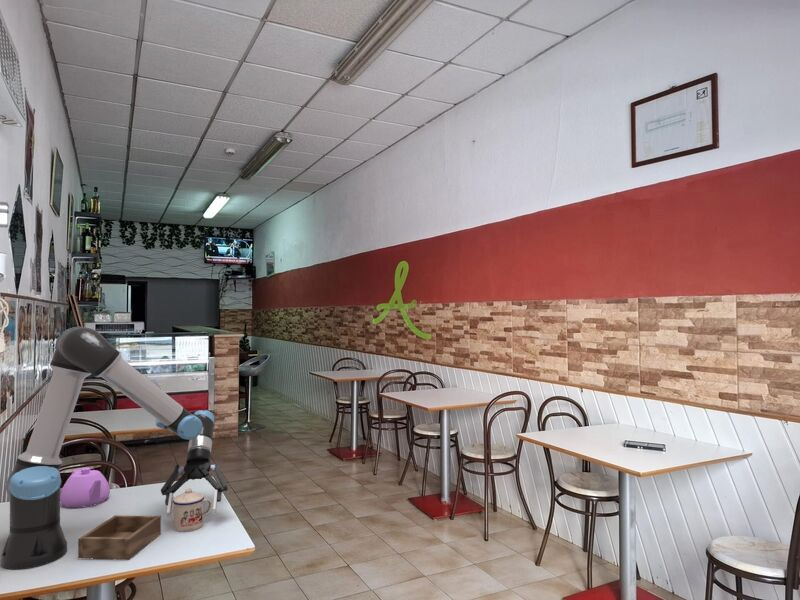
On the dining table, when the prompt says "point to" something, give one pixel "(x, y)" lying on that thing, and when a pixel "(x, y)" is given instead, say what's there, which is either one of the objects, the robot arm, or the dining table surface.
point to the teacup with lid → (189, 511)
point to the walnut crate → (119, 537)
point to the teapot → (84, 488)
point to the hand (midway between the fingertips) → (191, 513)
